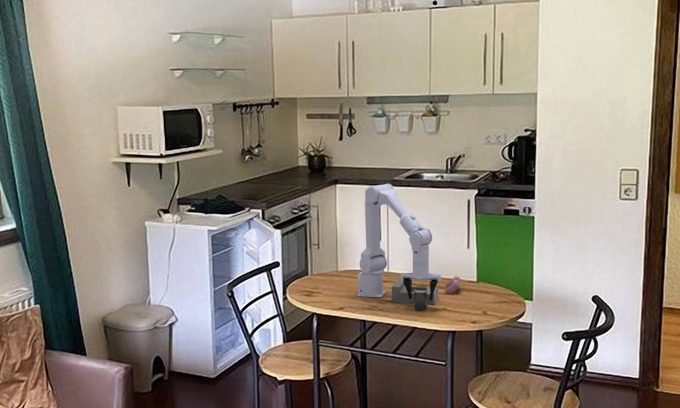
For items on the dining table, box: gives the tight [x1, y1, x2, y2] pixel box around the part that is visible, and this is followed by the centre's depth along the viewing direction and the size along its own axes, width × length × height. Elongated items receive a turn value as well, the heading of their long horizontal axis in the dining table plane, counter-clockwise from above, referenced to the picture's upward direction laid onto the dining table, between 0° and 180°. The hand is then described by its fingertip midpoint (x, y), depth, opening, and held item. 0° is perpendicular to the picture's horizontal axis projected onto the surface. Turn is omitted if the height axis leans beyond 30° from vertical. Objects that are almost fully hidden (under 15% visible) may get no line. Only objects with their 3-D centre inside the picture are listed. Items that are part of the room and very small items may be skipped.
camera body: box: [391, 279, 439, 306], centre depth 265 cm, size 16×10×6 cm, turn 74°
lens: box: [414, 285, 428, 312], centre depth 253 cm, size 5×5×8 cm
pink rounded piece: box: [444, 276, 461, 295], centre depth 276 cm, size 10×5×7 cm, turn 169°
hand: (420, 299), depth 253 cm, fingers open, 7 cm apart
